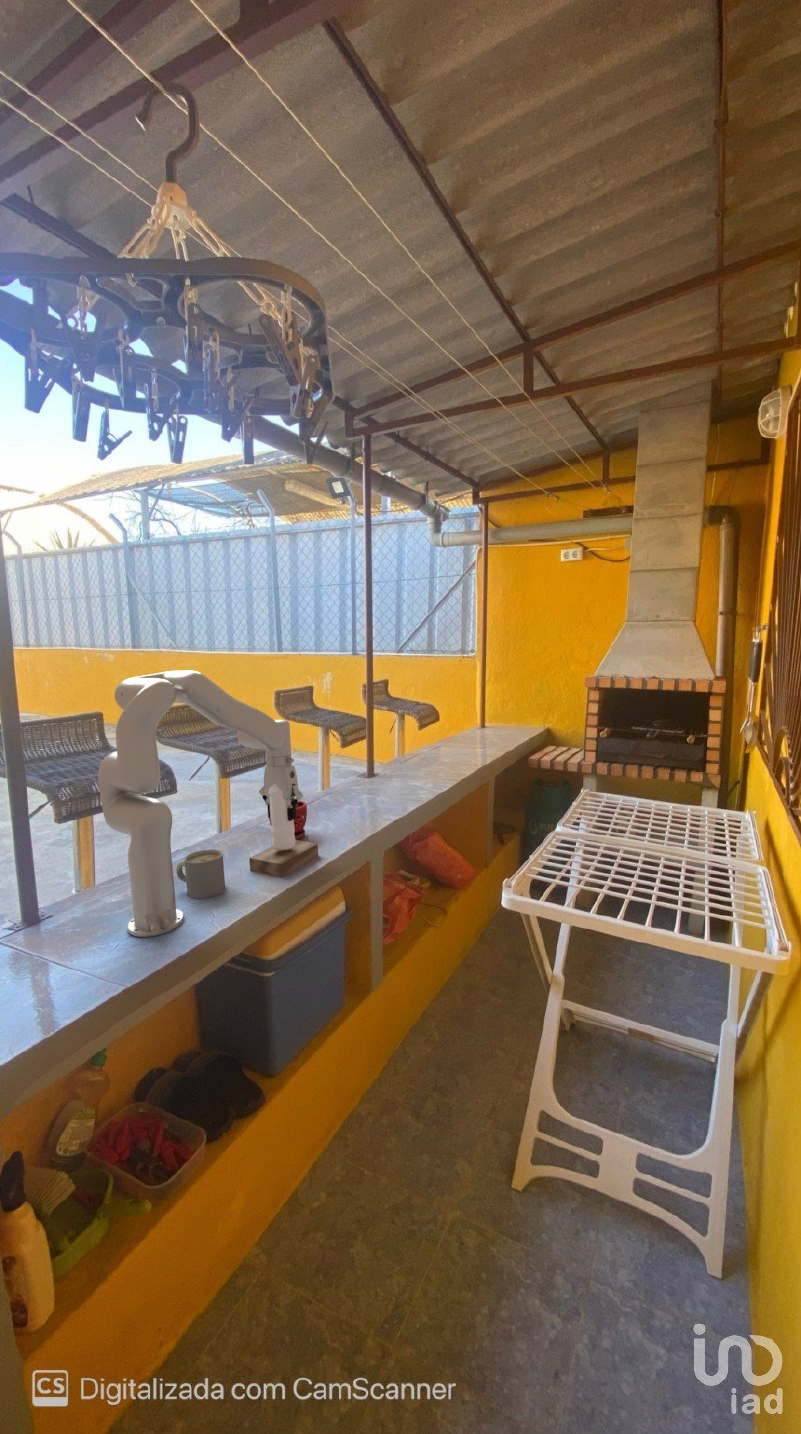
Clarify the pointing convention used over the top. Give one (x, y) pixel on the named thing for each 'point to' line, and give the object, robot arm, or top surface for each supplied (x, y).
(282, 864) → the walnut stand
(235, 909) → the top surface
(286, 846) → the water bottle
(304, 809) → the plant pot
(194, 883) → the coffee mug
